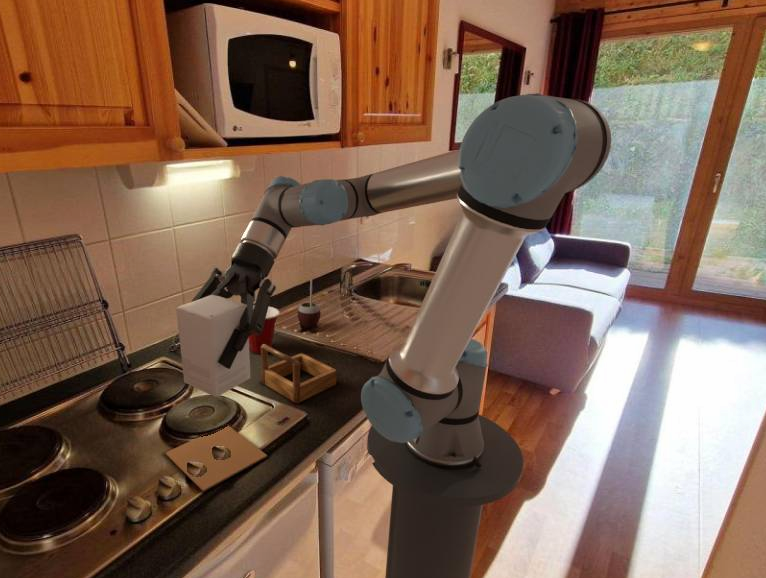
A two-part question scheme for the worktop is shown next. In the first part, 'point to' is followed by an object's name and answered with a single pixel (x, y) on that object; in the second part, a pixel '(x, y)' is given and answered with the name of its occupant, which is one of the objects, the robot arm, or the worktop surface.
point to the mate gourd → (309, 314)
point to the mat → (216, 469)
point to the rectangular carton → (211, 344)
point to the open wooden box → (296, 375)
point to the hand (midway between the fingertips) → (203, 358)
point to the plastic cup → (264, 331)
